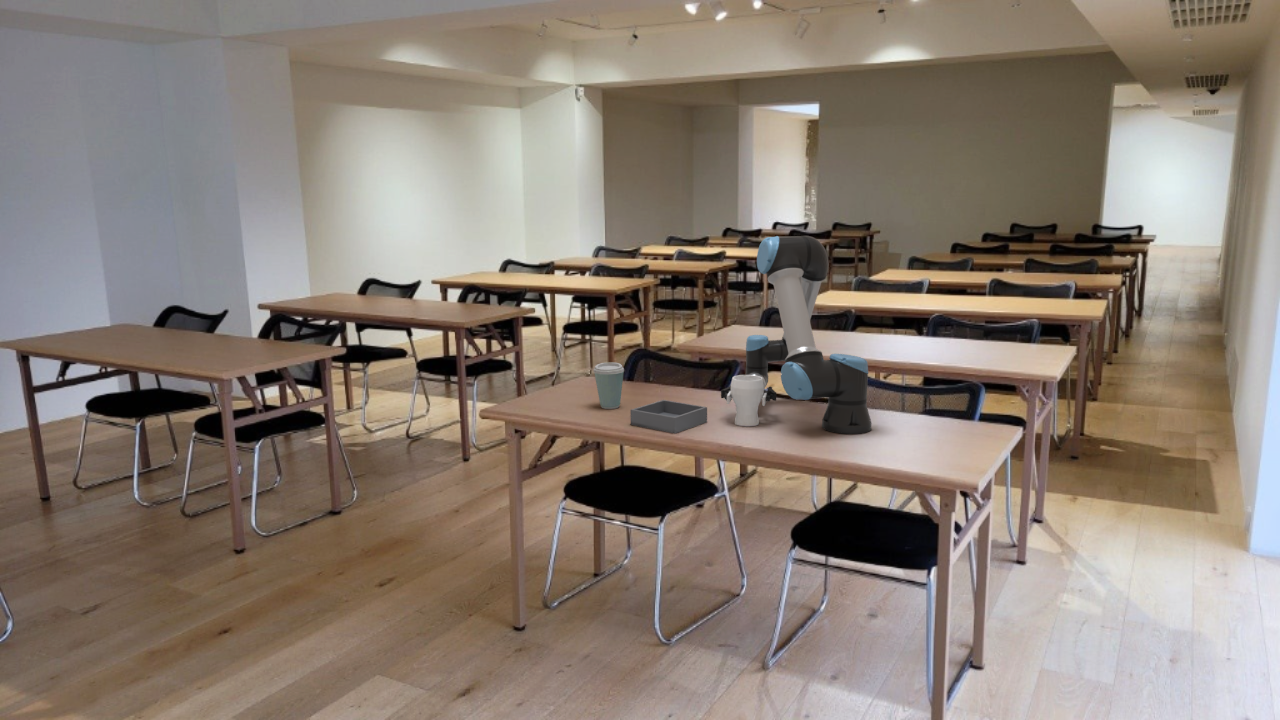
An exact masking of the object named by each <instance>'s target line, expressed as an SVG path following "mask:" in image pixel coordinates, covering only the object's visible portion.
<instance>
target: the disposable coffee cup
mask: <svg viewBox="0 0 1280 720" xmlns="http://www.w3.org/2000/svg"><path fill="white" fill-rule="evenodd" d="M624 372H625V368H624V367H623V365H622V364H621V363H619V362H613V361H612V362H611V361H610V362H601V363H598V364H596V365H595V366H594V368H593V373H594V377H595V378H594V379H595V383H596V384H595V385H596V388H597V395H598V401H599V405H600V407H601V408H602V409H604V410H614V409H618V408H620V405H621V399H622V390H623V381H624V374H625V373H624Z"/></svg>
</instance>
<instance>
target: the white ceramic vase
mask: <svg viewBox="0 0 1280 720" xmlns="http://www.w3.org/2000/svg"><path fill="white" fill-rule="evenodd" d="M730 386H731V395H732V401H733V403H734V404H735V405H734V406H735V411H736V412H735V419H734V425H736V426H740V427H756V426H758V425H759V424H760V423H759V422H760V421H759V414H758V412H759V405H760V403H761V402H762V397H763V394H764V389H765V388H764V383H763V379H762V377H760V376H755V375H746V374H739V375H734V376H732V378H731V383H730Z"/></svg>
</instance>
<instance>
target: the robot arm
mask: <svg viewBox="0 0 1280 720" xmlns="http://www.w3.org/2000/svg"><path fill="white" fill-rule="evenodd" d="M829 265H830V264H829V257H828V253H827V250H826V248H825V247H824V245H823V244H822V242H821V241H819V240H818V239H817V238H815V237H813V236H809V235H801V236H800V235H797V236H795V235H794V236H791V235H790V236H787V235H786V236H778V235H776V236H770V237H769V236H768V237H765V238H764V239H762V240H761V243H760V244H759V247H758V249H757V255H756V266H757V270H758V272H759V273H760V274H763V275H766V278H767V282H768V283H770V284H771V285H773V288H774V293H775V296H776V301H777V306H778V312H779V315H780V321H781V325H782V329H783V334H782V338H781V339H772V340H769V337H768V336H766V335H765V334H752V335H749V336H747V338H746V342H745V344H746V346H745V357H746V358H745V363H746V364H745V375H755V376H760V377H762V379H763V383H764V394H763V397H762V400H761V402H762V405H761V406H763V407H765V406H766V404H767V402H770V401H771V400H772V401H777V392H776V391H775V389H773V387H772V386H768V387H767V385H768V383H769V374H768V369H769V368H768V365H769V363H774V362H785V363H784V364H783V365H782V366H781V370H780V373H781V375H780V379H781V384H782V388H783V390H784V391H785V393H786V394H787V396H789V397H790V398H791V399H793V400H802V401H803V400H804V401H808V400H812V399H813V400H814V399H828V404H827V406H826V409H825V412H824V414H823V417H822V422H821V427H822V429H823V430H825V431H828V432H831V433H835V434H846V435H847V434H848V435H855V434H856V435H857V434H866V433H868V432H870V431H872V420H871V416H870V413H869V410H868V406H867V404H868V403H867V400H868V378H869V365H868V364H869V362H868V361H867V359H865V358H864V357H861V356H855V355H851V354H843V353H832V354H830V355H829V359H824V356H823V352H822V351H821V350H820V349H818V348H817V347H816V346H817V345H816V344H815V338H814V334H813V330H812V325H811V319H812V316H813V313H814V308H815V304H816V302H817V299H818V295H819V291H820V288H821V285H822V282H824V281H825V280H826V279H827V275H828V273H829ZM720 398H721V399H724V400H725V401H726V404H727V405H729V404H730V403H731V402H732V401H733V399H732V395H731V385H730V386H728V387H725V388H723V389H720Z"/></svg>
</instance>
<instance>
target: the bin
mask: <svg viewBox="0 0 1280 720" xmlns="http://www.w3.org/2000/svg"><path fill="white" fill-rule="evenodd" d="M705 423H708V406H702V405H696V404H690V403H686V402H685V403H684V402H677V401H675V400H674V401H672V400H666V399H661V400H657V401H655V402H651V403H647V404H645V405H642V406H638V407H635V408H631V409H630V425H631V426H635V427H639V428H645V429H649V430H655V431H659V432H660V431H661V432H663V433H664V432H665V433H670V434H674V435H675V434H679V433H680V432H683V431H687V430H689V429H692V428H694V427H697V426H701V425H703V424H705Z"/></svg>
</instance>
